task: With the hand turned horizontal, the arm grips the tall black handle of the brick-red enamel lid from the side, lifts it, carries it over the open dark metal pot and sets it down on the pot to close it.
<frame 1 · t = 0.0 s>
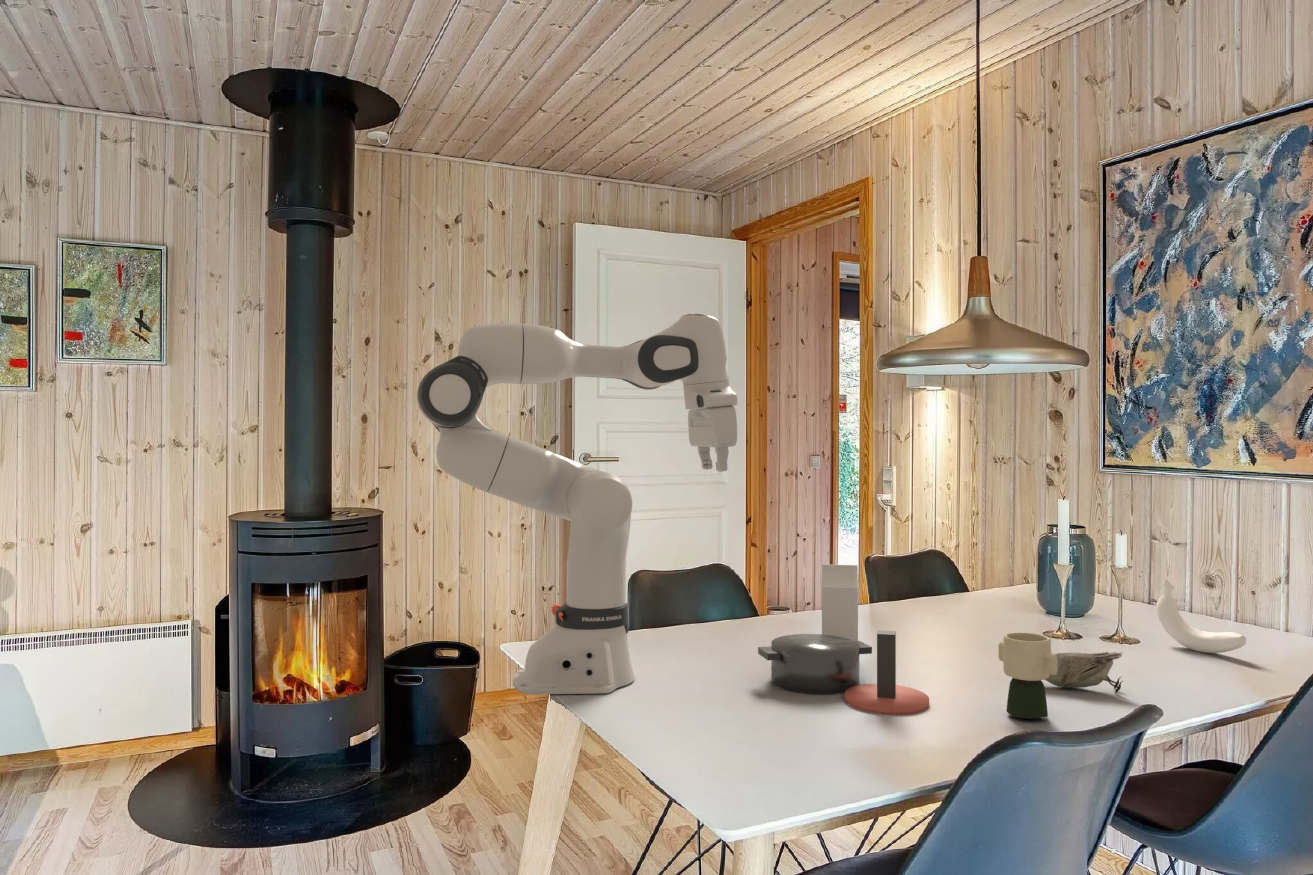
hand: (714, 470, 170), 39 cm above the table, tool pointing down, fingers open, 8 cm apart
character mug: (1027, 718, 143), on the table
banana: (1200, 653, 185), on the table
decorative bird: (1072, 690, 159), on the table
pot: (815, 681, 163), on the table
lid: (886, 702, 151), on the table
milk carton: (839, 658, 181), on the table
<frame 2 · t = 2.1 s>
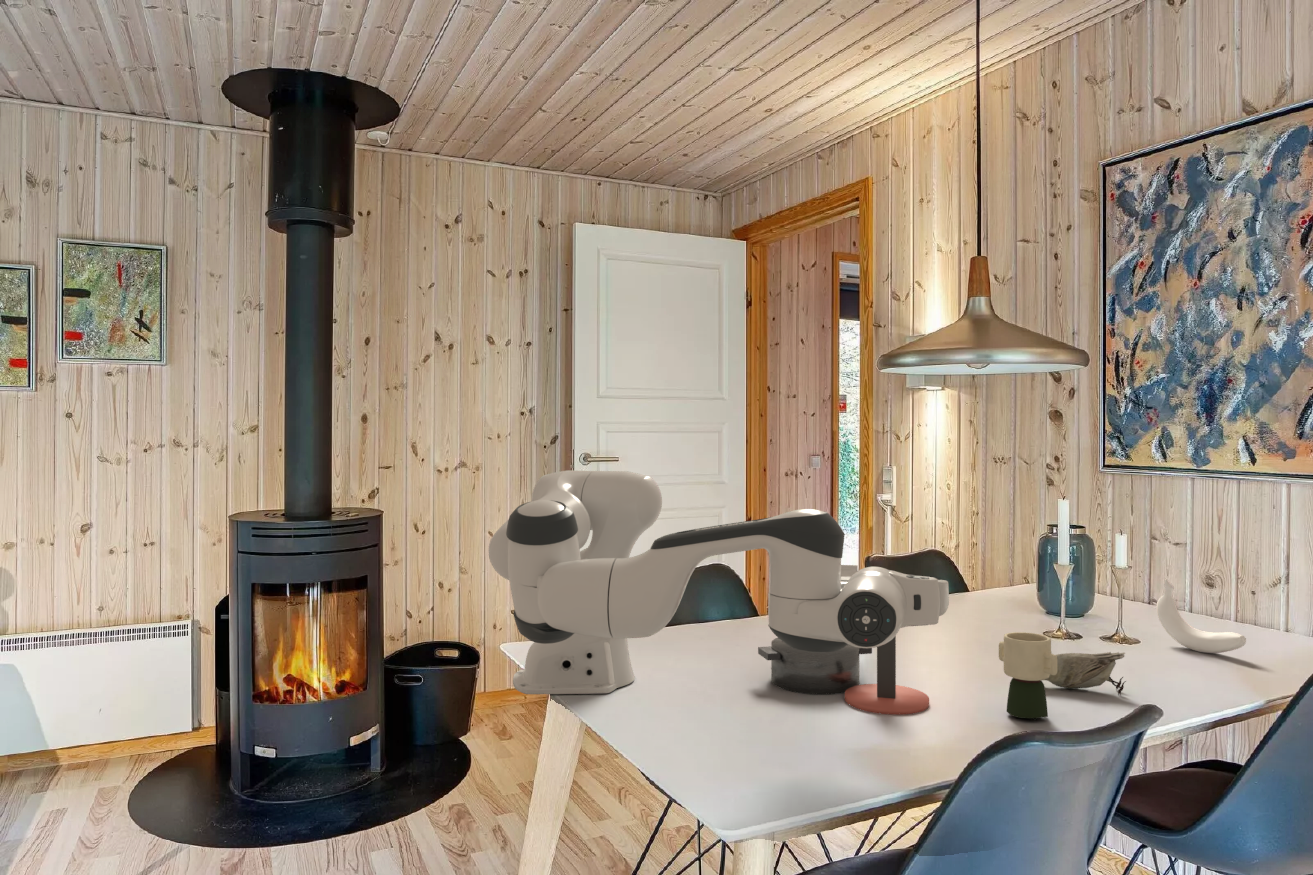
hand: (880, 584, 138), 22 cm above the table, tool horizontal, fingers open, 8 cm apart
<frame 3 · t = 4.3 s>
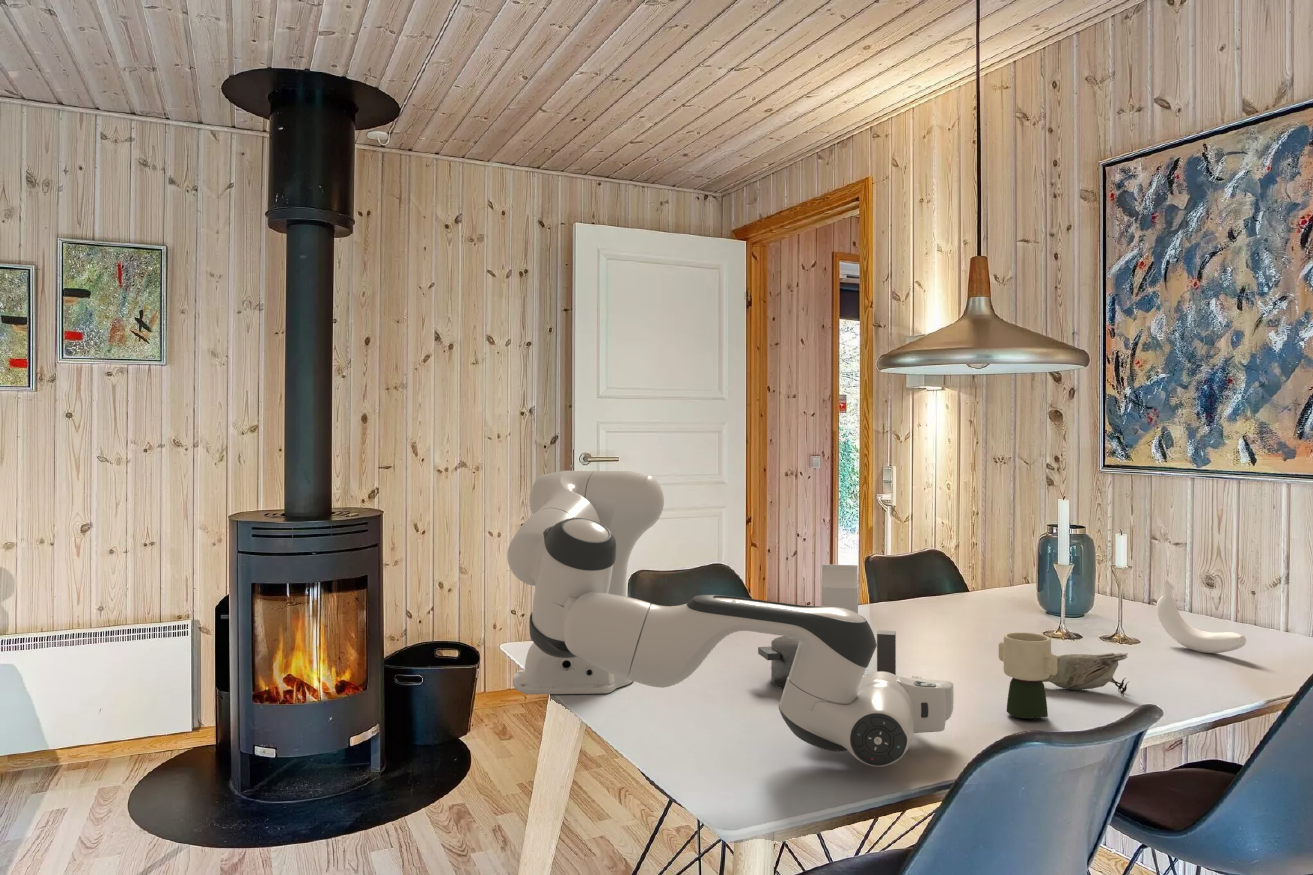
hand: (886, 679, 142), 7 cm above the table, tool horizontal, fingers open, 8 cm apart
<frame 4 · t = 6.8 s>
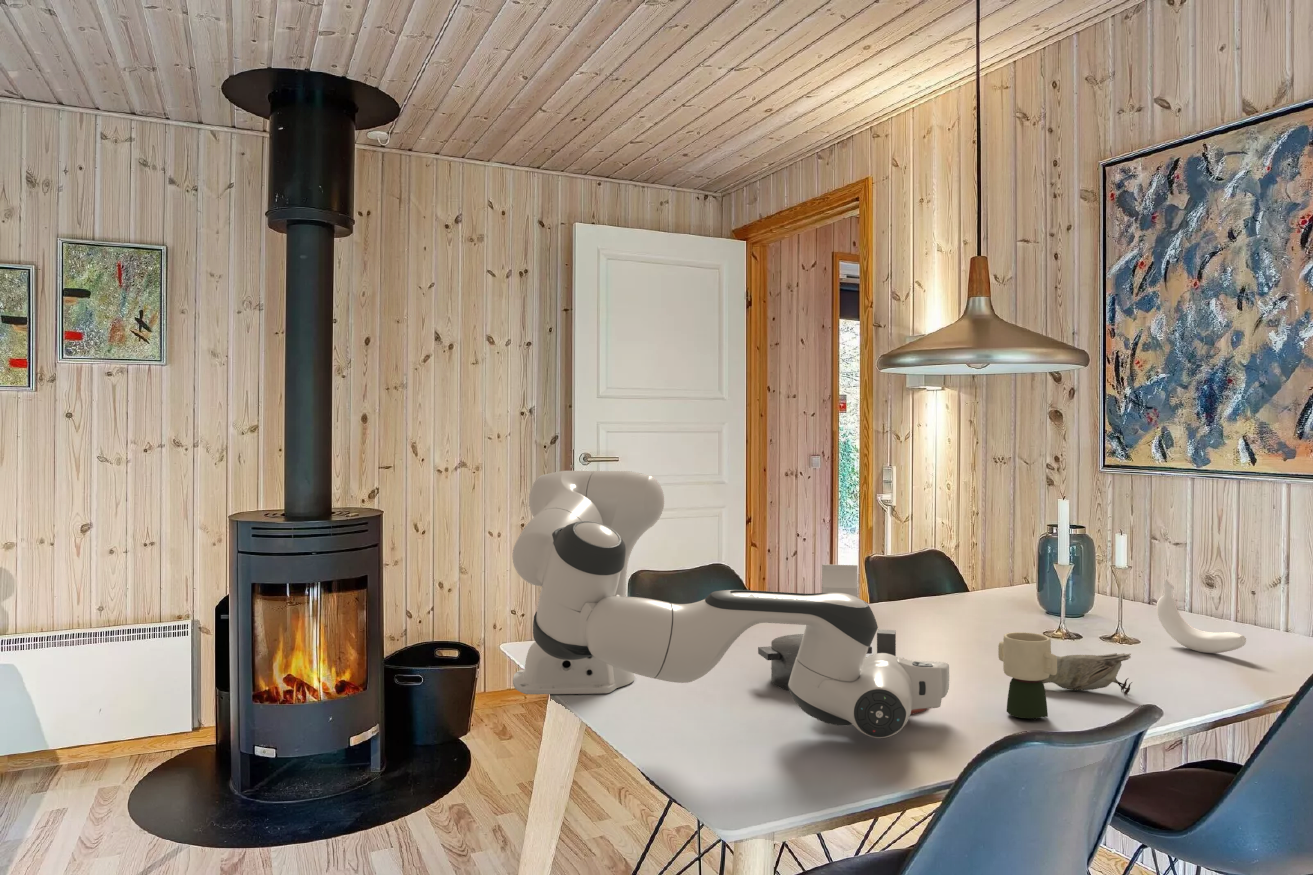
hand: (886, 661, 152), 7 cm above the table, tool horizontal, fingers closed on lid, 3 cm apart
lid: (886, 701, 151), on the table, touching gripper
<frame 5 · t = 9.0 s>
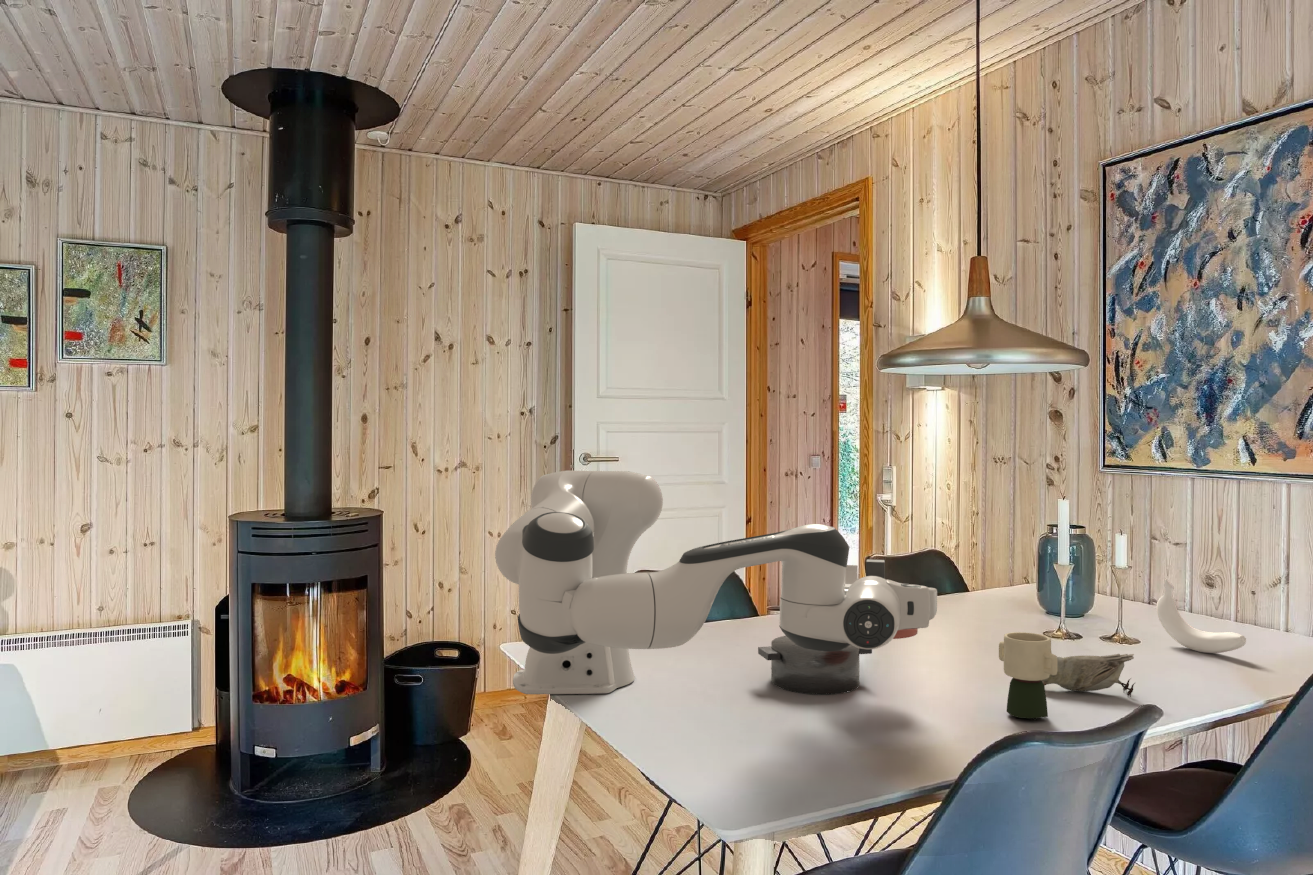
hand: (875, 590, 154), 18 cm above the table, tool horizontal, fingers closed on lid, 3 cm apart
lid: (875, 630, 153), point 12 cm above the table, touching gripper
when the fingers open (15 cm above the table, at t = 11.4 s): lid drops 1 cm, resting on pot.
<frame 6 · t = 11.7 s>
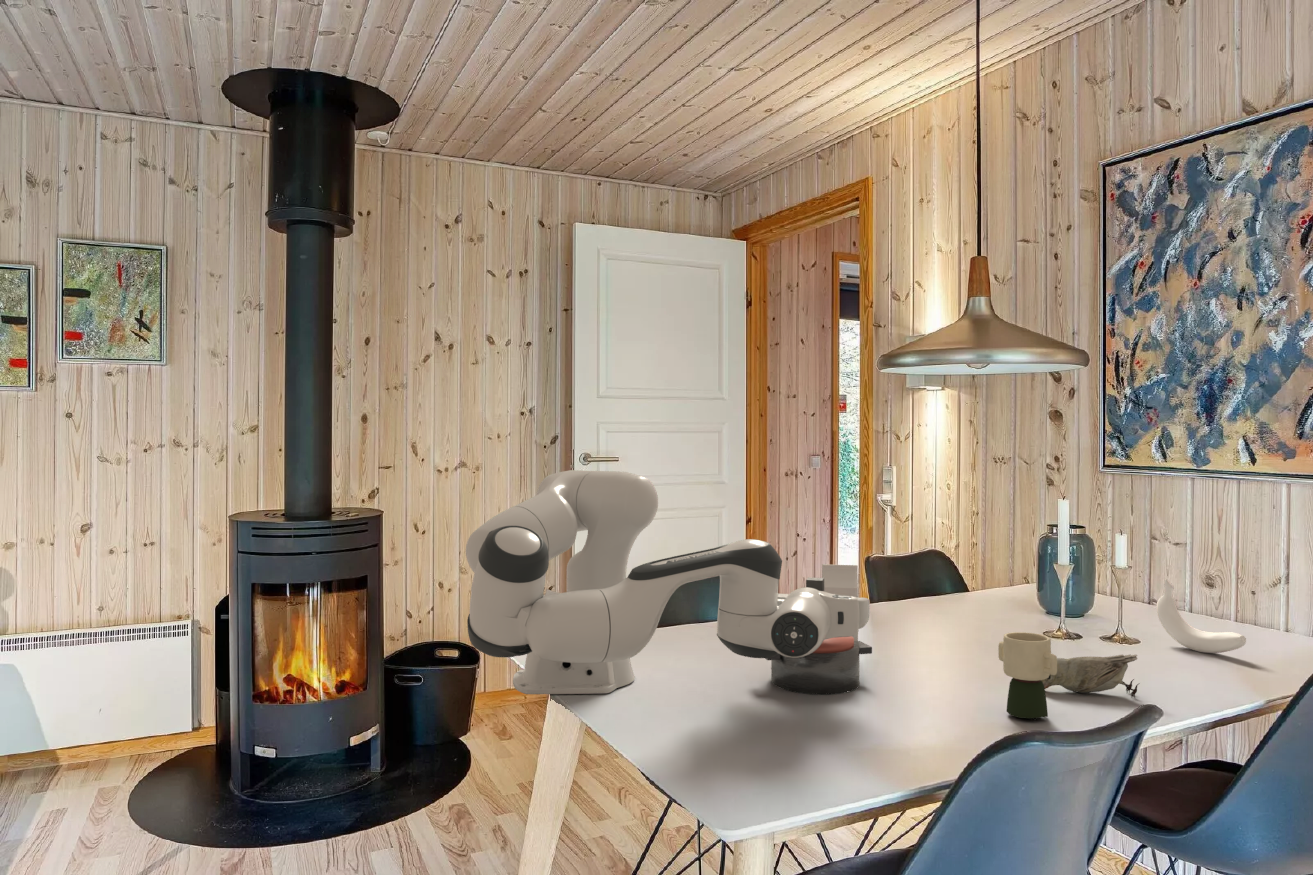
hand: (815, 599, 164), 15 cm above the table, tool horizontal, fingers open, 5 cm apart
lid: (815, 643, 163), point 7 cm above the table, touching pot
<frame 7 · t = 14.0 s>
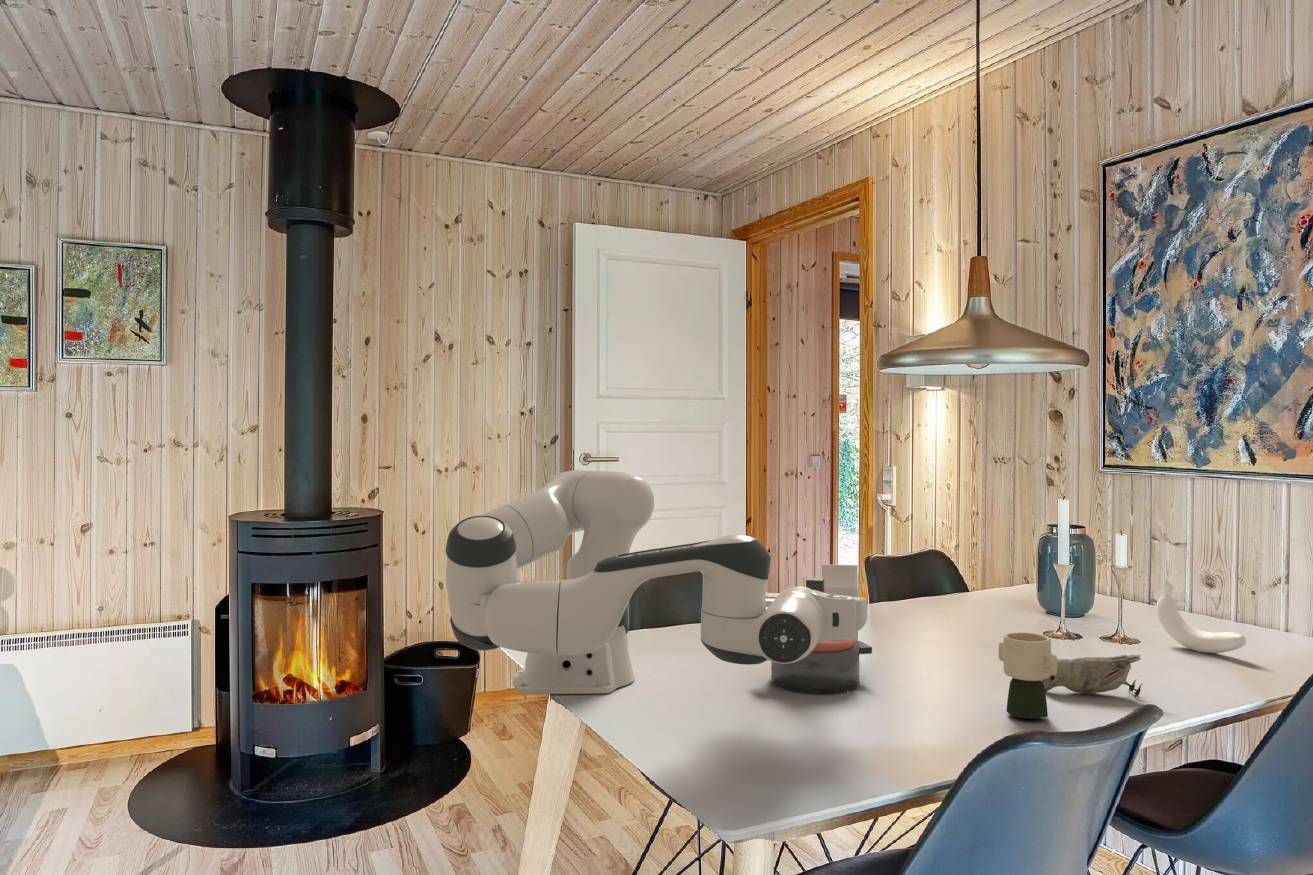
hand: (809, 599, 152), 17 cm above the table, tool horizontal, fingers open, 8 cm apart
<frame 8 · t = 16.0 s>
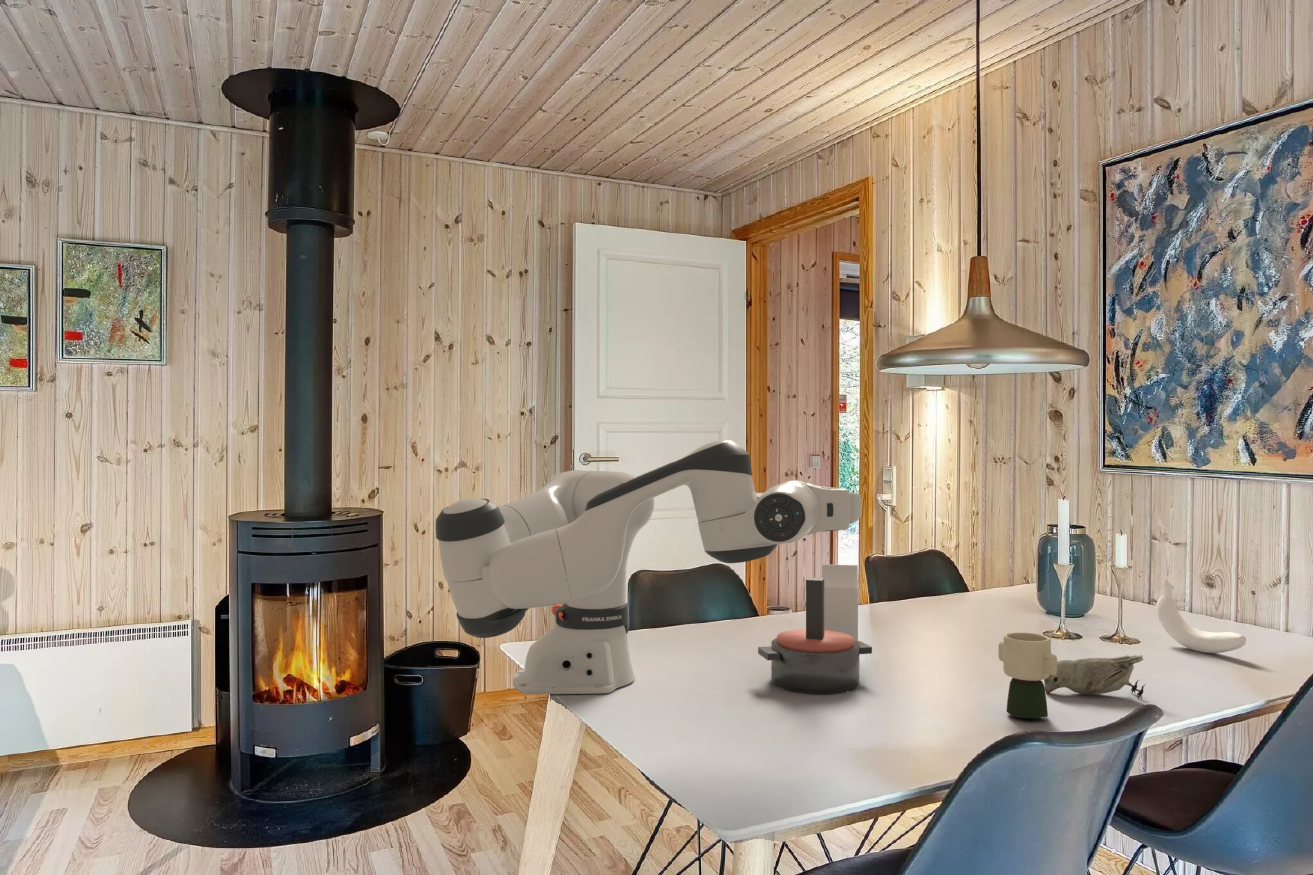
hand: (804, 502, 154), 34 cm above the table, tool horizontal, fingers open, 8 cm apart
at the end: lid 0.1 cm from the pot (horizontally); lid point 7.0 cm above the table; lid tilted 0° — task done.
